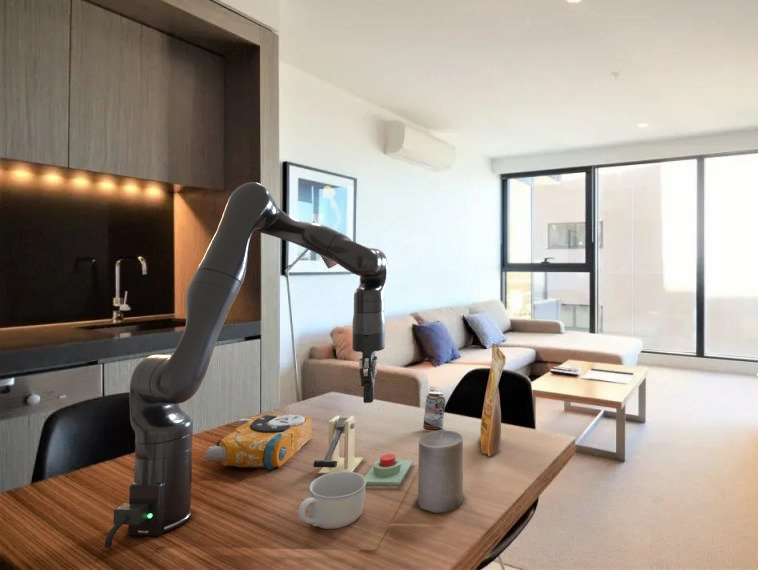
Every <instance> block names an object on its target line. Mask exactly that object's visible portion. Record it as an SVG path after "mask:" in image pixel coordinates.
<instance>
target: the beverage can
mask: <svg viewBox="0 0 758 570" xmlns="http://www.w3.org/2000/svg"><path fill="white" fill-rule="evenodd" d="M424 405H425V406H424V417H423V427H422V428H423V429H424V430H425V431H426V432H434V431H442V430H443V427H444V418H445V407H446V395H445V392H443V391H432V390H431V391H428V392H427V395H425V404H424Z"/></svg>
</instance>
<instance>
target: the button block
mask: <svg viewBox="0 0 758 570" xmlns="http://www.w3.org/2000/svg"><path fill="white" fill-rule="evenodd" d="M412 465H413V460H412V459H410V460H409V459H408V460H407V459H406V460H405V459H404V460H403V459H401V458H398V457H395V465H393V466H388V467H382V466H380V459H377V460H375V462H374V463H373V465H372V466H371V468H370V469H369V470H368V471H367V473H366V474H365V476H364V477H365V479H366V486H400V485H401V483H402V481H403V480H404V478H405V476H406V474H407V473H408V471H409V469H410V467H411V466H412Z"/></svg>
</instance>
